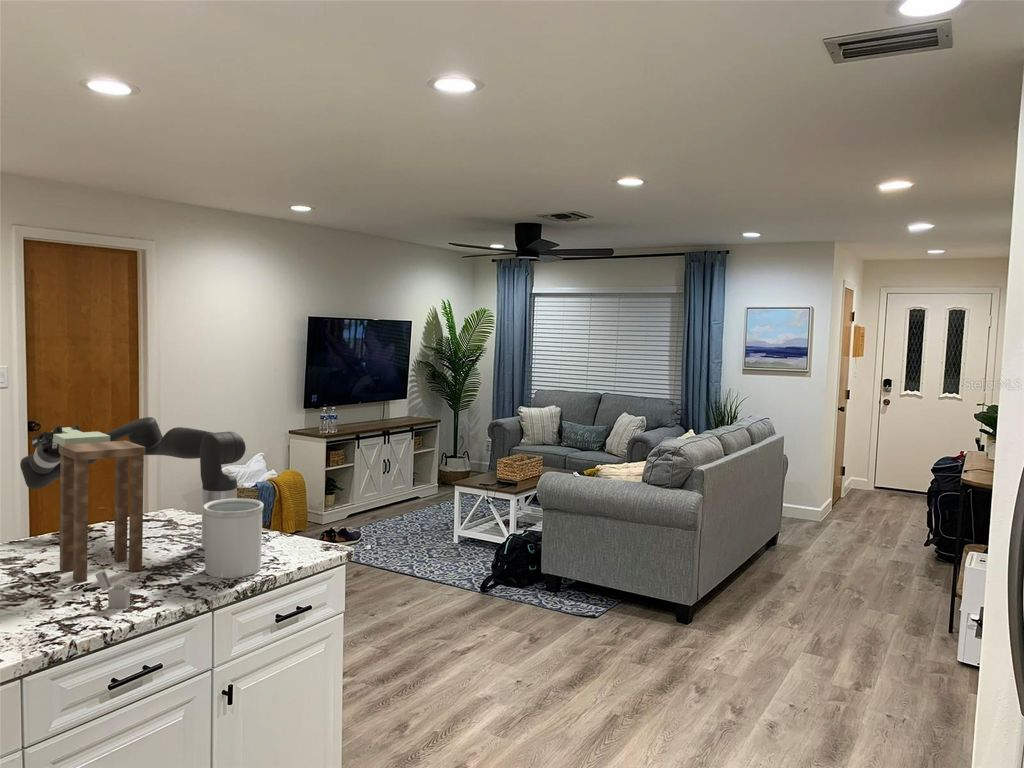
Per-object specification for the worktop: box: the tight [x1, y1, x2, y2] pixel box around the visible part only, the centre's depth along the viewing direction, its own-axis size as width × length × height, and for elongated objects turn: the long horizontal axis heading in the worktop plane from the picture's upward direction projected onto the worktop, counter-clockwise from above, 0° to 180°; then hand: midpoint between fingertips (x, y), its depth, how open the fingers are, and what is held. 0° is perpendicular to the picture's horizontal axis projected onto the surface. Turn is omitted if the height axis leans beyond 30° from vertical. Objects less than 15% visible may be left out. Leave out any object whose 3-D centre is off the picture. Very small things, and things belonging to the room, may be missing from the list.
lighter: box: [95, 570, 131, 610], centre depth 171 cm, size 7×2×8 cm, turn 89°
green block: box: [53, 426, 110, 445], centre depth 207 cm, size 11×20×2 cm, turn 47°
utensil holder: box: [203, 498, 265, 579], centre depth 199 cm, size 15×15×18 cm
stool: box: [59, 440, 146, 583], centre depth 194 cm, size 16×13×32 cm
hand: (68, 428), depth 211 cm, fingers closed on green block, 3 cm apart
